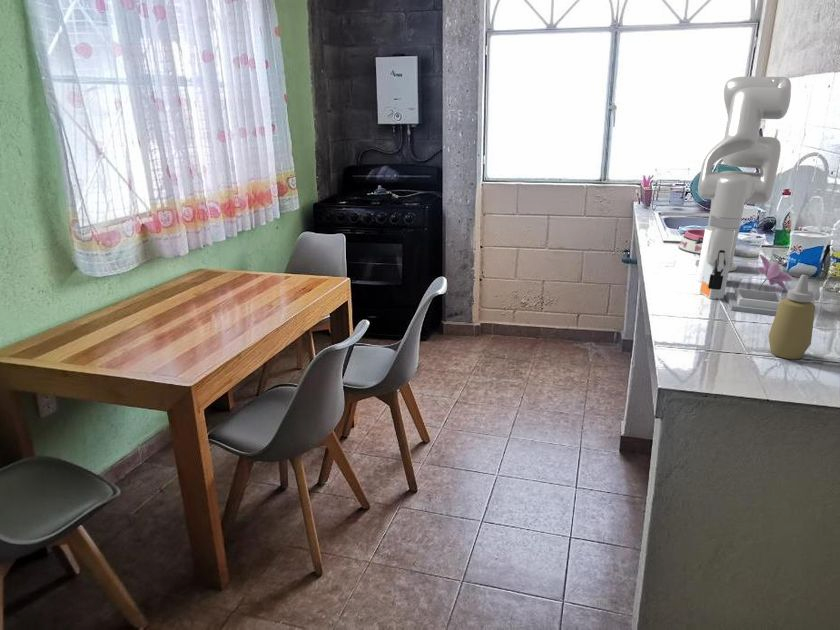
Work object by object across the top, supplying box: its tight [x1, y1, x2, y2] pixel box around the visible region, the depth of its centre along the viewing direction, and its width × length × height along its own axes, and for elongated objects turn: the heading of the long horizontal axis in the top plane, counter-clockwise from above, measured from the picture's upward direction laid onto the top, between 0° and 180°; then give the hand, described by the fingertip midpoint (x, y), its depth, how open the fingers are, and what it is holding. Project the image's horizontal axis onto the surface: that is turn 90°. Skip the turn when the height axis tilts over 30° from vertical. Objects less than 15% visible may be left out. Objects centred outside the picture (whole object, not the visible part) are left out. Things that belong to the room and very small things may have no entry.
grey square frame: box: [725, 287, 784, 317], centre depth 164 cm, size 14×14×3 cm
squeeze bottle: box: [768, 274, 816, 360], centre depth 129 cm, size 8×8×18 cm
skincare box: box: [699, 254, 731, 300], centre depth 171 cm, size 6×4×12 cm
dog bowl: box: [678, 228, 705, 255], centre depth 227 cm, size 18×19×7 cm
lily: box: [755, 254, 795, 292], centre depth 180 cm, size 12×12×10 cm
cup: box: [695, 227, 735, 283], centre depth 185 cm, size 8×8×16 cm
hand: (713, 284), depth 172 cm, fingers closed on skincare box, 7 cm apart
